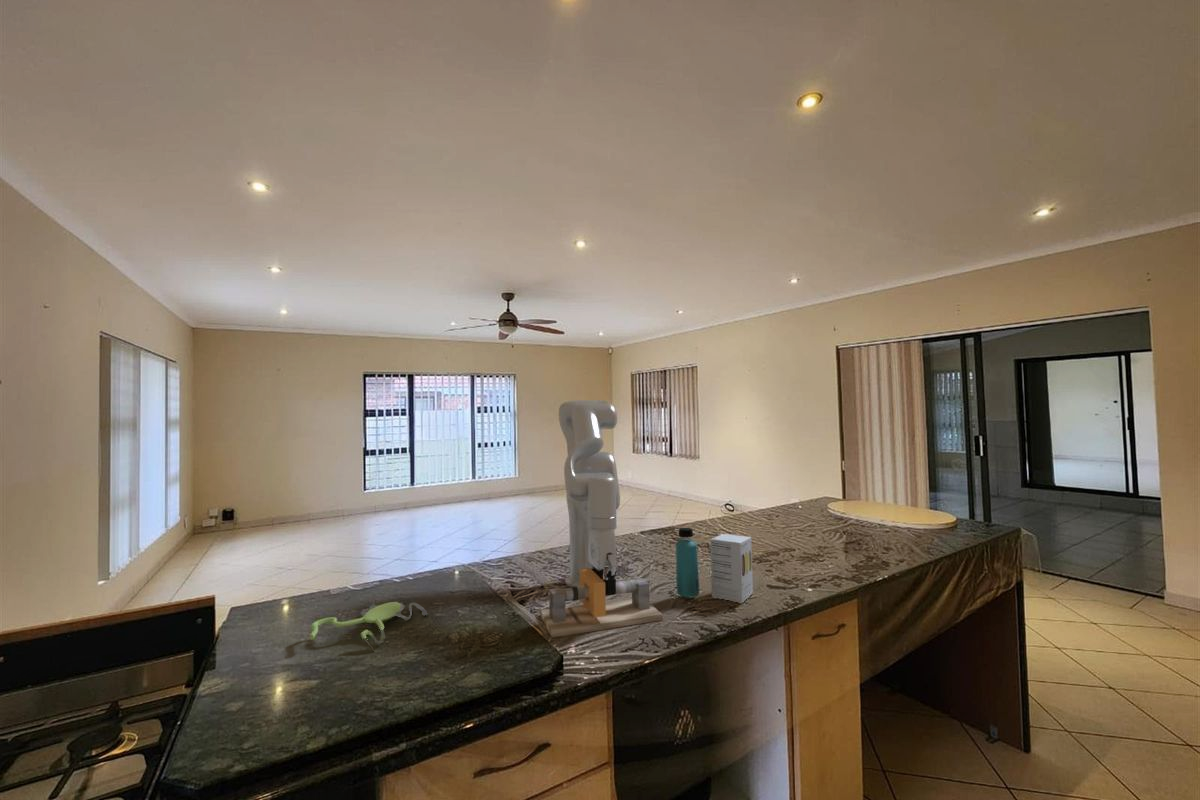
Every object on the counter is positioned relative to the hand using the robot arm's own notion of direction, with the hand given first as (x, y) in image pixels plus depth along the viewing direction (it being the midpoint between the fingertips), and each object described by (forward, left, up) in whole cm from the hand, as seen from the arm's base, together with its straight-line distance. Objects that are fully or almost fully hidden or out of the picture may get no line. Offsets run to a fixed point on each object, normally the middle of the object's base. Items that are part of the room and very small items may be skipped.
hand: (603, 588), depth 121 cm
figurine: (-13, -57, -8) cm, 59 cm away
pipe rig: (0, -1, -7) cm, 7 cm away
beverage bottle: (-4, +27, -7) cm, 28 cm away
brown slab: (0, -3, -4) cm, 5 cm away
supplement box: (-1, +40, -7) cm, 41 cm away
